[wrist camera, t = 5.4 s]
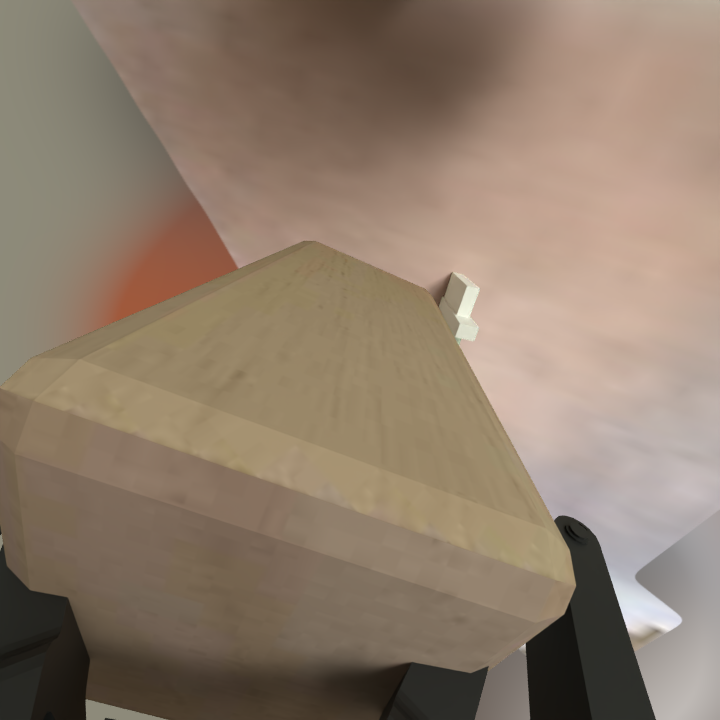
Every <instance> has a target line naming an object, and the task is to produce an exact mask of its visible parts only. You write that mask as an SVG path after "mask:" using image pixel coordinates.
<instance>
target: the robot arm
mask: <svg viewBox="0 0 720 720" xmlns="http://www.w3.org/2000/svg"><path fill="white" fill-rule="evenodd" d="M554 522H555V524H556V526H557V528H558V530H559V531H560V533H561V535H562V537H563V539H564V541H565V542H566V544H567V546H568V548H569V550H570V555H571V560H572V566H573V571H574V577H575V582H576V588H575V590H574V592H573V595H572V597H571V599H570V602H569V604H568V606H567V609H566V611H565V614H564V615H562V616H561V617H560V618H558V619H557V620H556V621H554V622H553V623H552V624H550V625H549V626H548V627H546V628H545V629H544V630H542V631H541V632H540V633H538V634H537V635H536V636H534V637H533V638H532V639H530V640H529V641H528V642H526V657H527V673H528V688H529V704H530V720H656V719H655V716H654V712H653V710H652V706H651V703H650V700H649V697H648V694H647V691H646V688H645V684H644V681H643V678H642V675H641V672H640V669H639V666H638V663H637V659H636V656H635V653H634V650H633V647H632V644H631V641H630V637H629V634H628V631H627V628H626V625H625V622H624V619H623V616H622V612H621V609H620V606H619V603H618V600H617V597H616V594H615V591H614V588H613V584H612V581H611V578H610V575H609V572H608V569H607V566H606V563H605V559H604V556H603V553H602V550H601V547H600V544H599V542H598V540H597V538H596V536H595V535H594V534H593V533H592V532H591V530H590V529H589V528H587V527H586V526H585V525H584V524H582V523H581V522H579V521H578V520H576V519H574V518H571V517H568V516H558V517H557V518H556V519H555V520H554ZM0 535H1V527H0ZM89 665H90V658H89V655H88V652H87V649H86V647H85V644H84V641H83V638H82V635H81V633H80V630H79V627H78V624H77V622H76V619H75V616H74V613H73V610H72V608H71V605H70V602H69V599H68V597H64V596H58V595H53V594H48V593H42V592H37V591H32V590H29V589H28V587H27V586H26V585H25V584H24V583H23V582H22V581H21V580H20V579H19V578H18V577H17V576H16V575H15V574H14V573H13V572H12V571H11V570H10V569H9V568H8V566H7V563H6V557H5V551H4V545H2V548H1V551H0V720H86V706H85V700H86V687H87V680H88V672H89ZM488 668H489V666H487V667H484V668H482V669H480V670H477V671H475V672H472V673H468V672H463V671H457V670H452V669H447V668H441V667H436V666H431V665H425V664H420V663H415V662H412V663H411V664H410V666H409V668H408V669H407V671H406V673H405V675H404V676H403V678H402V680H401V681H400V683H399V685H398V687H397V688H396V690H395V692H394V693H393V695H392V697H391V699H390V700H389V702H388V704H387V705H386V707H385V709H384V711H383V712H382V714H381V716H380V718H379V720H474V719H475V715H476V712H477V708H478V705H479V701H480V697H481V693H482V690H483V686H484V683H485V679H486V675H487V671H488ZM105 720H114V719H108V718H105Z"/></svg>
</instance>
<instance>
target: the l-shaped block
mask: <svg viewBox="0 0 720 720" xmlns="http://www.w3.org/2000/svg"><path fill="white" fill-rule="evenodd" d="M479 290H480V288H479V287H477V286H476V285H475V284H474V283H473V282H471V281H470V280H469V279H468V278H467V277H466V276H464V275H463V274H459V273H455V272H452V275H451V278H450V281H449V284H448V287H447V290H446V293H445V296H444V297H442V298H441V301H440V304H439V309H440V311H441V312H442V314H443V316H444V318H445V320H446V321H447V323H448V325H449V327H450V329H451V331H452V332H453V334H454V336H455V337H457V338H461V339H466V340H470V341H474V340H475V337H476V335H477V332H478V330H479V327H478V326H477V325H476V323H475V322H474V321H473V319H472V318H471V317H470V314H471V312H472V309H473V306H474V304H475V301H476V298H477V296H478V293H479Z"/></svg>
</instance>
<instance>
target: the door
mask: <svg viewBox="0 0 720 720" xmlns="http://www.w3.org/2000/svg"><path fill="white" fill-rule="evenodd" d="M442 315H443V314H442ZM443 317H444V316H443ZM444 319H445V318H444ZM445 321H446V320H445ZM446 323H447V321H446ZM447 324H448V323H447ZM448 326H449V325H448ZM449 328H450V327H449ZM450 330H451V329H450ZM451 332H452V331H451ZM452 334H453V332H452ZM453 336H454V334H453ZM454 337H455V336H454ZM455 339H456V341H457V343H458V345H459V344H460V341H461V338H457V337H455Z"/></svg>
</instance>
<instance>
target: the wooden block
mask: <svg viewBox="0 0 720 720" xmlns="http://www.w3.org/2000/svg"><path fill="white" fill-rule="evenodd" d="M0 527H1V533H2V539H3V545H4V551H5V557H6V563H7V566H8V568H9V569H10V570H11V571H12V572H13V573H14V574H15V575H16V576H17V577H18V578H19V579H20V580H21V581H22V582H23V583H24V584H25V585H26V586H27V587H28V589H29V590H32V591H37V592H42V593H48V594H53V595H58V596H64V597H68V599H69V602H70V605H71V608H72V610H73V613H74V616H75V619H76V622H77V624H78V627H79V630H80V633H81V635H82V638H83V641H84V644H85V647H86V649H87V652H88V655H89V658H90V665H89V672H88V680H87V687H86V699H88V700H92V701H96V702H100V703H104V704H108V705H112V706H116V707H120V708H124V709H128V710H132V711H136V712H140V713H144V714H148V715H152V716H156V717H160V718H164V719H168V720H379V718H380V716H381V714H382V712H383V711H384V709H385V707H386V705H387V704H388V702H389V700H390V699H391V697H392V695H393V693H394V692H395V690H396V688H397V687H398V685H399V683H400V681H401V680H402V678H403V676H404V675H405V673H406V671H407V669H408V668H409V666H410V664H411V663H412V662H415V663H420V664H425V665H431V666H436V667H441V668H447V669H452V670H457V671H463V672H468V673H472V672H475V671H477V670H480V669H482V668H484V667H487V666H489V668H488V671H489V670H490V669H491V668H493V667H494V666H496V665H497V664H498V663H499V662H501V661H502V660H503V659H505V658H506V657H508V656H509V655H510V654H511V653H513V652H514V651H516V650H517V649H518V648H520V647H521V646H522V645H524V644H525V643H526V642H528V641H529V640H530V639H532V638H533V637H534V636H536V635H537V634H538V633H540V632H541V631H542V630H544V629H545V628H546V627H548V626H549V625H550V624H552V623H553V622H554V621H556V620H557V619H558V618H560V617H561V616H562V615H564V614H565V611H566V609H567V606H568V604H569V602H570V599H571V597H572V595H573V592H574V590H575V588H576V582H575V577H574V571H573V566H572V560H571V555H570V550H569V548H568V546H567V544H566V542H565V541H564V539H563V537H562V535H561V533H560V531H559V530H558V528H557V526H556V524H555V522H554V520H553V518H552V517H551V515H550V513H549V511H548V509H547V507H546V506H545V504H544V502H543V500H542V498H541V496H540V494H539V493H538V491H537V489H536V487H535V485H534V483H533V481H532V480H531V478H530V476H529V474H528V472H527V470H526V469H525V467H524V465H523V463H522V461H521V459H520V457H519V456H518V454H517V452H516V450H515V448H514V446H513V445H512V443H511V441H510V439H509V437H508V435H507V433H506V432H505V430H504V428H503V426H502V424H501V422H500V421H499V419H498V417H497V415H496V413H495V411H494V409H493V408H492V406H491V404H490V402H489V400H488V398H487V396H486V395H485V393H484V391H483V389H482V387H481V385H480V384H479V382H478V380H477V378H476V376H475V374H474V372H473V371H472V369H471V367H470V365H469V363H468V361H467V360H466V358H465V356H464V354H463V352H462V350H461V348H460V347H459V345H458V343H457V341H456V339H455V337H454V336H453V334H452V332H451V330H450V328H449V326H448V324H447V323H446V321H445V319H444V317H443V315H442V313H441V312H440V310H439V308H438V306H437V304H436V302H435V300H434V299H433V297H432V296H431V295H430V294H429V292H428V291H427V290H426V289H424V288H422V287H419V286H417V285H415V284H413V283H410V282H408V281H406V280H403V279H401V278H399V277H396V276H394V275H392V274H390V273H387V272H385V271H383V270H380V269H378V268H376V267H374V266H371V265H369V264H367V263H364V262H362V261H360V260H358V259H355V258H353V257H351V256H348V255H346V254H344V253H341V252H339V251H337V250H335V249H332V248H330V247H328V246H325V245H323V244H321V243H319V242H316V241H303V242H300V243H298V244H296V245H293V246H291V247H289V248H286V249H284V250H282V251H279V252H277V253H275V254H272V255H270V256H268V257H265V258H263V259H261V260H258V261H256V262H254V263H251V264H249V265H247V266H244V267H242V268H240V269H237V270H235V271H233V272H230V273H228V274H226V275H223V276H221V277H219V278H216V279H214V280H212V281H210V282H207V283H205V284H202V285H200V286H198V287H195V288H193V289H191V290H188V291H186V292H184V293H181V294H180V295H177V296H174V297H173V298H170V299H168V300H165V301H163V302H161V303H158V304H156V305H154V306H151V307H149V308H146V309H144V310H142V311H140V312H137V313H135V314H132V315H130V316H128V317H125V318H123V319H121V320H118V321H116V322H114V323H112V324H109V325H107V326H104V327H102V328H100V329H97V330H95V331H93V332H90V333H88V334H86V335H83V336H81V337H79V338H77V339H74V340H72V341H69V342H67V343H65V344H62V345H60V346H58V347H55V348H53V349H51V350H48V351H46V352H44V353H42V354H39V355H37V356H35V357H32V358H30V359H29V360H28V361H27V362H26V363H25V364H24V365H23V366H22V367H21V368H20V369H19V370H18V371H17V372H15V373H14V374H13V375H12V376H11V377H10V378H9V379H8V380H7V381H6V382H5V383H4V384H3V385H1V386H0Z"/></svg>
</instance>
